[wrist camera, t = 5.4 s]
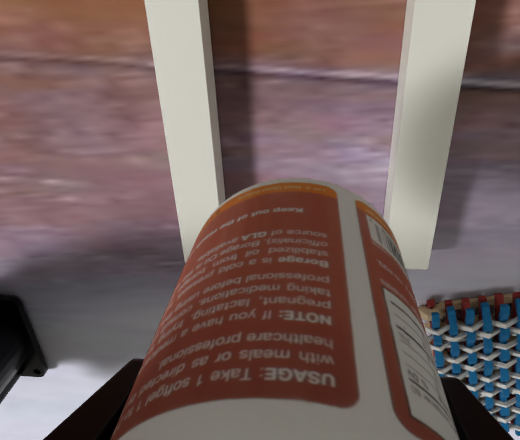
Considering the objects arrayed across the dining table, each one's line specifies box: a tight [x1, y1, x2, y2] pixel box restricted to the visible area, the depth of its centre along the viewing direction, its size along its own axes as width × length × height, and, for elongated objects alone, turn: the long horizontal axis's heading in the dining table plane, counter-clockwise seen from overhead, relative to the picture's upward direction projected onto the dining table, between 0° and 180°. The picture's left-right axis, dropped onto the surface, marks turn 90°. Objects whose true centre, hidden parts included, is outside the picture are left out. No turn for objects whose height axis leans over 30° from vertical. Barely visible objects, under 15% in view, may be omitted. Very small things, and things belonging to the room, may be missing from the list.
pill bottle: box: [110, 178, 459, 440], centre depth 9 cm, size 6×6×11 cm
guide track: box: [145, 0, 476, 270], centre depth 15 cm, size 20×12×5 cm, turn 2°
